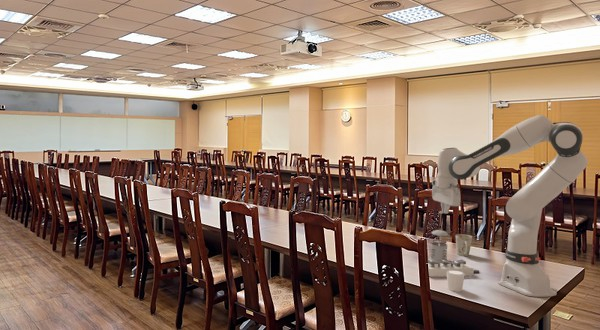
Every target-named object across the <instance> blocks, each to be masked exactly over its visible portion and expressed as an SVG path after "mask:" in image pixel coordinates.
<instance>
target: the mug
mask: <svg viewBox="0 0 600 330" xmlns="http://www.w3.org/2000/svg"><path fill="white" fill-rule="evenodd" d="M472 241H473V236H472V235H470V234H460V233H459V234H458V233H457V234H455V248H456V254H457V255H458V256H462V257H467V256H469V255H470V251H471V247H472Z"/></svg>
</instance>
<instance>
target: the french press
mask: <svg viewBox="0 0 600 330" xmlns="http://www.w3.org/2000/svg"><path fill="white" fill-rule="evenodd" d="M438 214H440V218H439V219H440V220H439V225H441V221H442V220H441V219H442V214H444V213H443V212H442V210H440V211H439V212H438ZM431 234H432V235H434V236H437V238H435V239H432V240H431V241H432V242H431V243H430V255H429V256H430V257H428V260H431V261H435V262H438V263H440V261H441V260H444V261H449V260H448V244H447V243H448V242H447V240H444V239H441V237H448V236H449V233H448V232H446V231H444V230H442V229H436V230H433V231H431Z"/></svg>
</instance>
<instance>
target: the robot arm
mask: <svg viewBox="0 0 600 330" xmlns="http://www.w3.org/2000/svg"><path fill="white" fill-rule="evenodd" d="M583 139H584V136H583V131H582V129H581V128H580V127H579V126H578V125H577V124H575V123H573V122H570V121H569V122H568V121H562V122H552V121H551V119H550V118H548V117H547V116H545V115H543V114H537V115H535V116H531V117H529V118H527V119H525V120H522V121H520V122H519V123H517V124H514V125H513V126H512V127H510V128H509V129H507V130H506V131H504V132H503V133H502V134H500V135H499V136H498V137H496V138H494V140H493V141H491V142H490V143H488V144H486V145H484V146H482V147H480V148H478V149H477V150H475V151H473V152H471V153H469V154H467V153H465V152H462V151H461V150H459V149H458V148H457V147H446V148H442V149H441V150H440V151H439V154H438V156H437V175H436V178H435V179H432V180H431V184H432V188H431V197H432V200H433V201H435V202H439V203H440V207H441V211H442V212H443V214H449V210H450V208H451V207H460V205H461V190H460V188H459V187H458V180H459V181H460V180H465V179H468V178H469V179H470V178H473V177H475V176H476V175H478V174H479V172H480V171H481V166H483V165H485V164H486V163H488V162H490V161H492V160H495V159H497V158H500V157H505V156H510V155H511V156H512V155H515V154H520V153H522V152H524V151H527V150H529V149H530V148H532V147H535V146H536V145H538V144H541V143H544V142H545V143H546V142H548V143H550V144H551V146H552V148H553V149H554V150H555V151H556V153H557V154H556V155H555V157H554V158H553V159H552V160H551V161H550V162H549V163H548V164H547V165H545V166H544V168H543V169H542V170H541V171H539V173H537V174H536V175H535V177H533V178H532V179H530V180H529V181H528V182H527V183H526V184H525V185H523V186H522V187H521V188H520V189H519V190H518V191H517V192H516V193H514V195H512V196H511V197H510V198H509V199H508V200H507V202H506V205H505V212H506V214H507V216H508V217H510V218H511V221H510V222H511V223H510V226H509V229H508V237H507V248H506V250H505V262H504V264H503V266H502V271H501V272H502V273H501V279H500V280H499V281H498V284H499V285H500V286H503V287H505V288H508V289H510V290H513V291H515V292H517V293H519V294H522V295H525V296H529V297H535V298H536V297H538V298H541V297H542V298H543V297H547V298H548V297H554V296H557V291H555V290H554V289H553V288H551V280H550V277H549V275H548V274H547V273H546V272H545V271H544V269H543V267H542V266H541V265H540V260H541V257H539V256H538V252H537V248H538V235H539V229H540V224H541V218H542V213H543V208H544V207H546V206H547V205H549V203H551V202H552V201H553V200H554V199H555V198H557V197H558V196H559V195H560V194H561V193H563V192H564V191H565V190H566V189H567V187H569V186H570V185H571V184H572V183H573V182H574V181H575V180H576V179H578V177H580V175H581V174H582V173H583V172H584V171H585V168H586V167H587V166H588V163H589V161H588V158H587V156H586V154H585V153H583V152H582V151H581V147H582V143H583Z"/></svg>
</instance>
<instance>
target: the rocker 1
mask: <svg viewBox="0 0 600 330" xmlns="http://www.w3.org/2000/svg"><path fill="white" fill-rule="evenodd" d="M427 262H428V263H427V264H430V265H434V264H438V266H440V263H438V262H435V261H431V260H429V259H427Z"/></svg>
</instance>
